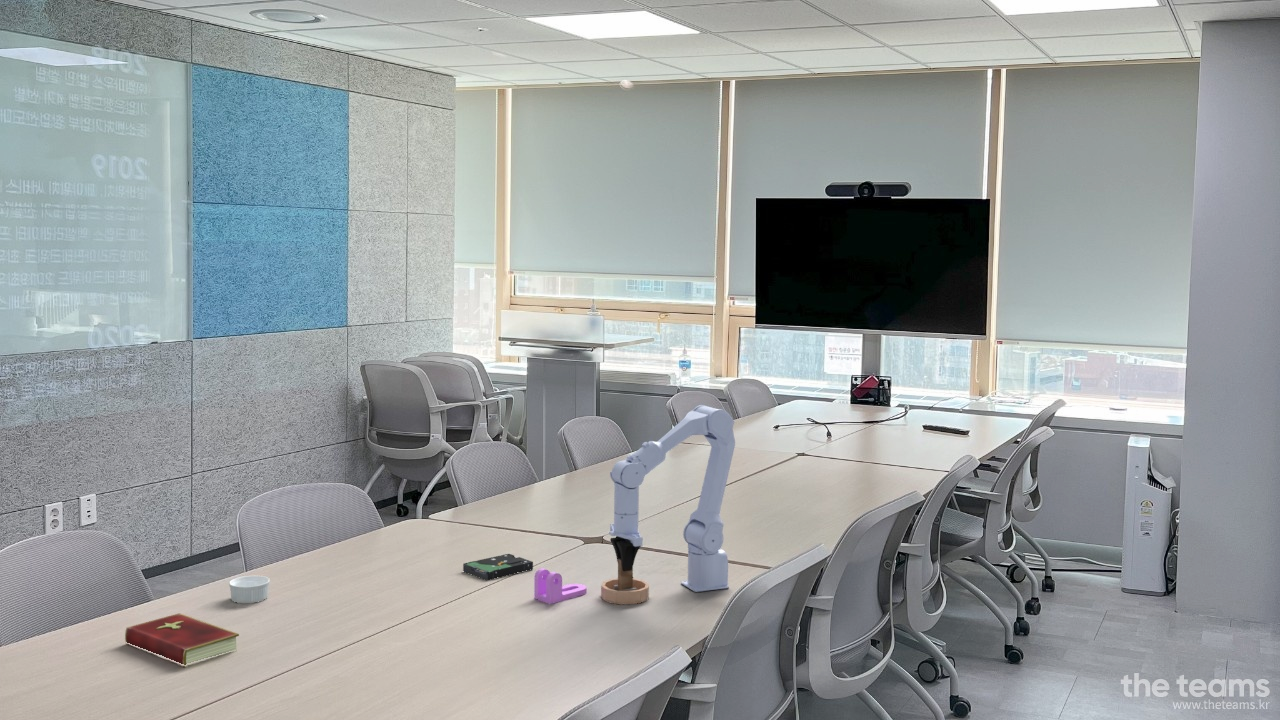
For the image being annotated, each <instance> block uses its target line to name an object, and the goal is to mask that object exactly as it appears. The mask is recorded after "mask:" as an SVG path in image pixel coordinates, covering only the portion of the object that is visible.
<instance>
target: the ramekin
mask: <svg viewBox="0 0 1280 720" xmlns="http://www.w3.org/2000/svg"><path fill="white" fill-rule="evenodd" d="M270 581H271V579H270V577H267V576H264V575H244V576H243V575H242V576H238V577H236V578H233V579H231V580H230V581H229V583H228V585H229V588H230V597H231V601H232V602H233V601H234V603H235V602H237V603H236V604H240V603H250V604H254V603H253V602H257V603H259V602H258V601H261V602H263V601H265V600H267V599H268V597H269V589H270V588H269V586H270ZM264 599H265V600H264ZM262 600H263V601H262Z"/></svg>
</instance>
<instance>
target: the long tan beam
mask: <svg viewBox="0 0 1280 720" xmlns="http://www.w3.org/2000/svg"><path fill="white" fill-rule="evenodd" d="M633 571H634V568H632V570H631V571H623V569H622V563H621V559H618V562H617V578H618V588H619V589H629V588H633V579H634V577H633V576H634V573H633Z"/></svg>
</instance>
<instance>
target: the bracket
mask: <svg viewBox="0 0 1280 720" xmlns="http://www.w3.org/2000/svg"><path fill="white" fill-rule="evenodd" d="M587 588H588V587H587V585H584V584H581V583H568V584H565V585H563V577H562V575H561V574H560V573H559V572H555V571H551V572H550V570H548V569H546V568H544V567H542V568H539V569H538V570H537V571H535V574H534V588H533V589H534V595H533V598H534V599H535V600H537V599H538V601H540V602H544V603H546V604H549V605H551V604H555V603H558V602H562V601H565V600H569V599H573V598H576V597H579V596H584V595H585V594H587Z"/></svg>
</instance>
